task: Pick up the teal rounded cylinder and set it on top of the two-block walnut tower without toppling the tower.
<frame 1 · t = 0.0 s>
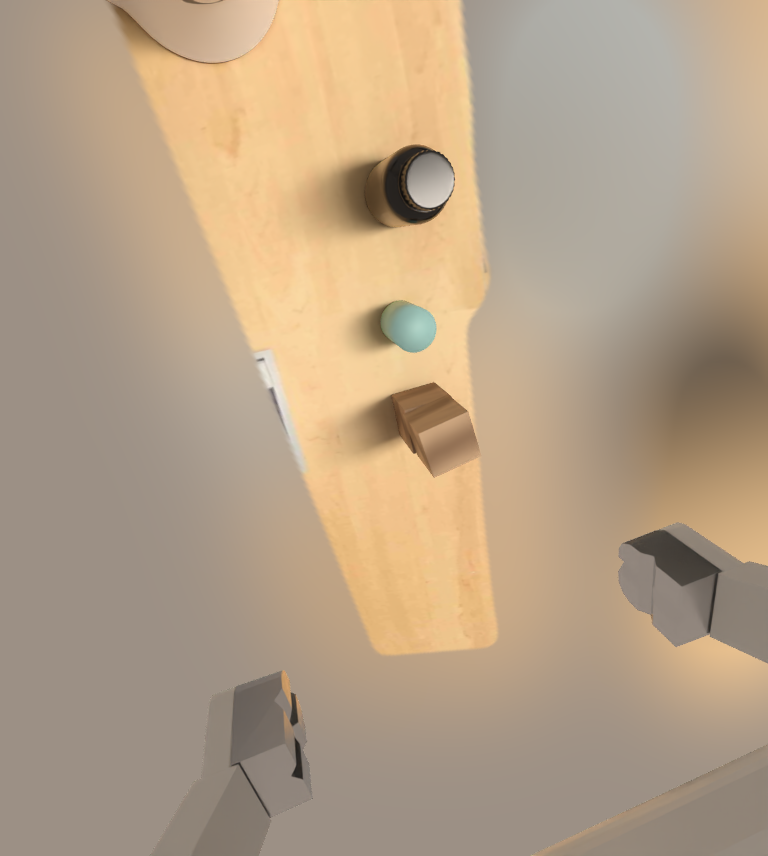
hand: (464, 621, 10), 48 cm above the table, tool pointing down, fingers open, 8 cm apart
tower base: (416, 409, 62), on the table, touching tower top
tower top: (432, 425, 57), point 6 cm above the table, touching tower base
teal rounded cylinder: (400, 321, 57), on the table
supplement bottle: (392, 193, 51), on the table
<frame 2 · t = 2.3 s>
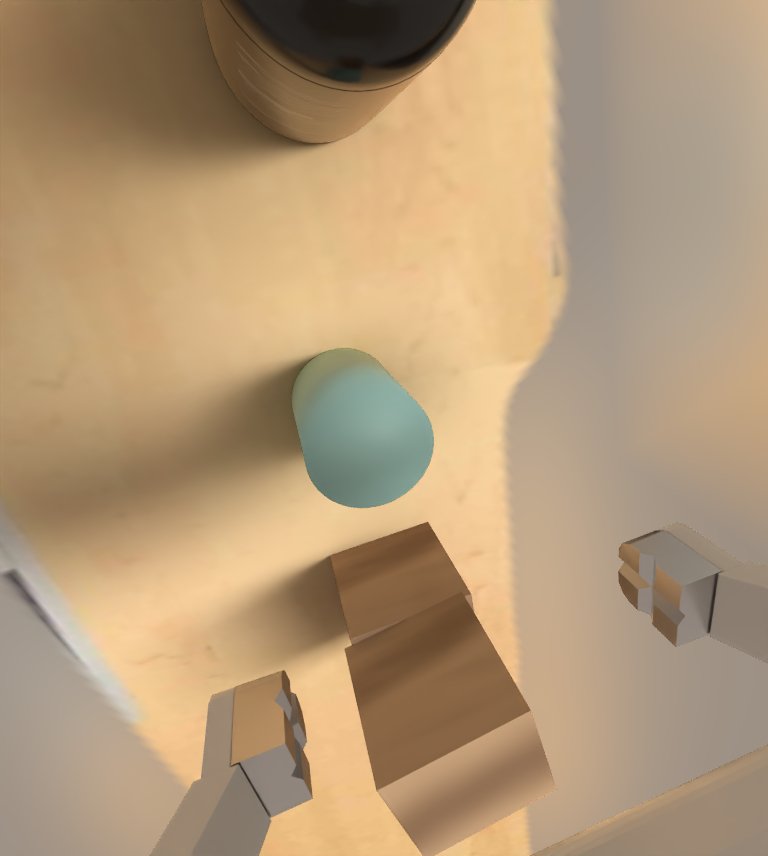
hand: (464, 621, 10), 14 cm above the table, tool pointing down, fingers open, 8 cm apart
tower base: (389, 576, 28), on the table, touching tower top
tower top: (422, 658, 23), point 6 cm above the table, touching tower base
teal rounded cylinder: (342, 398, 23), on the table
supplement bottle: (304, 38, 17), on the table
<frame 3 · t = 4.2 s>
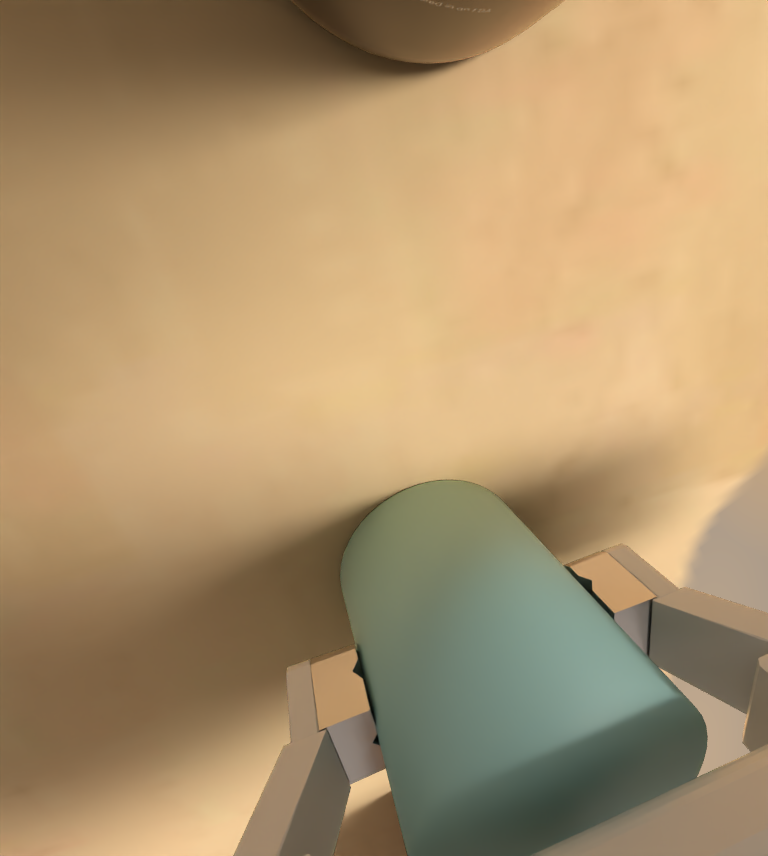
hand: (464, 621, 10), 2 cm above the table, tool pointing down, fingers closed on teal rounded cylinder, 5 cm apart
teal rounded cylinder: (432, 562, 12), on the table, touching gripper
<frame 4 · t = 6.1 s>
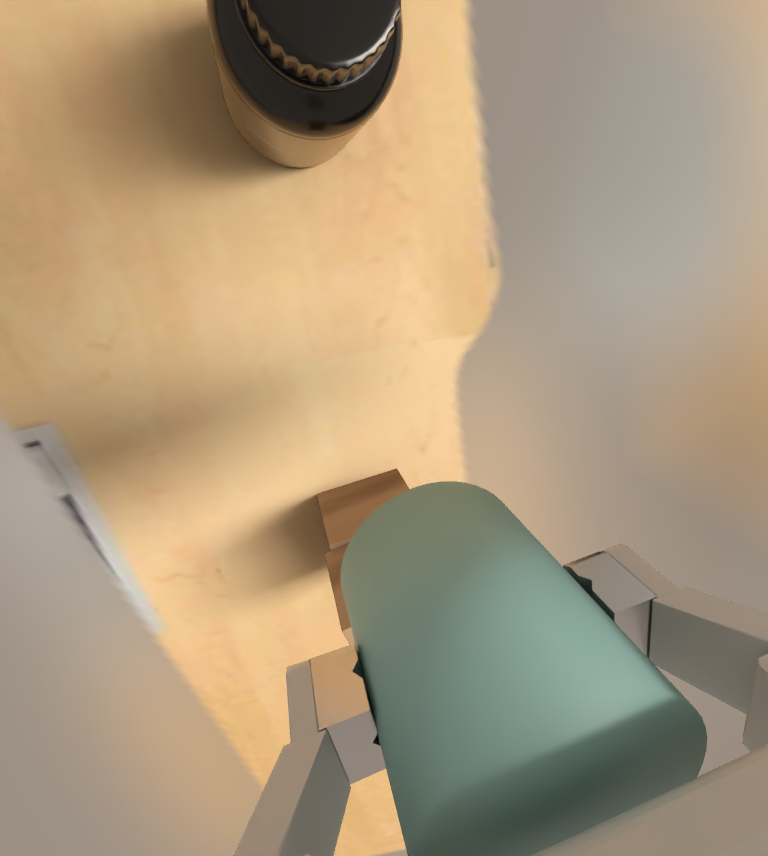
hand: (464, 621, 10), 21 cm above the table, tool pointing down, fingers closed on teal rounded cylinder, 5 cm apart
tower base: (366, 514, 34), on the table, touching tower top
tower top: (387, 566, 29), point 6 cm above the table, touching tower base
teal rounded cylinder: (432, 564, 12), point 19 cm above the table, touching gripper
supplement bottle: (291, 93, 24), on the table
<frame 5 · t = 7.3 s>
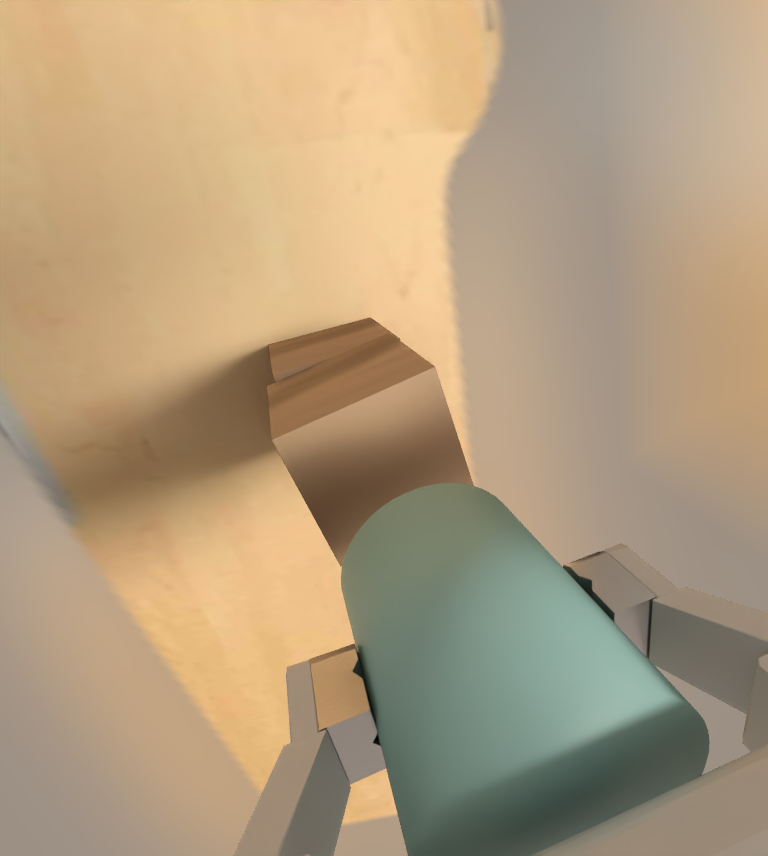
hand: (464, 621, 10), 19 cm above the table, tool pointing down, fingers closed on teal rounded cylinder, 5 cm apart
tower base: (333, 379, 28), on the table, touching tower top
tower top: (353, 415, 22), point 6 cm above the table, touching tower base
teal rounded cylinder: (433, 565, 12), point 17 cm above the table, touching gripper
when the fingers open (15 cm above the table, at t = 8.3 s): teal rounded cylinder drops 1 cm, resting on tower top.
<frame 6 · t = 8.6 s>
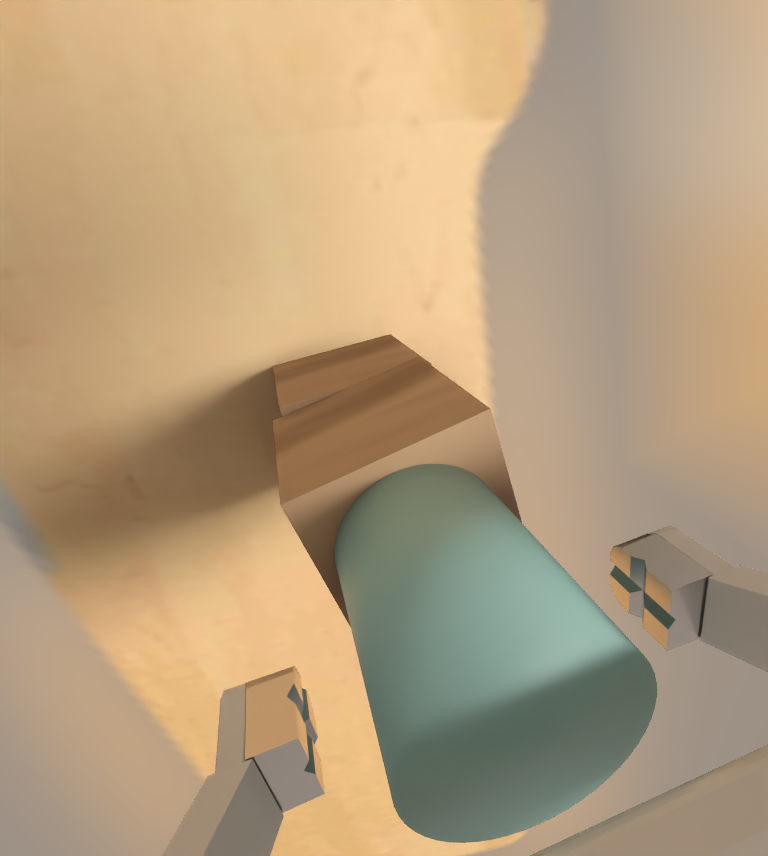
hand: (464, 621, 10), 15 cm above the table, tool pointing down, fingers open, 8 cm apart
tower base: (346, 404, 24), on the table, touching tower top
tower top: (374, 452, 19), point 6 cm above the table, touching teal rounded cylinder, tower base
teal rounded cylinder: (420, 541, 13), point 12 cm above the table, touching tower top
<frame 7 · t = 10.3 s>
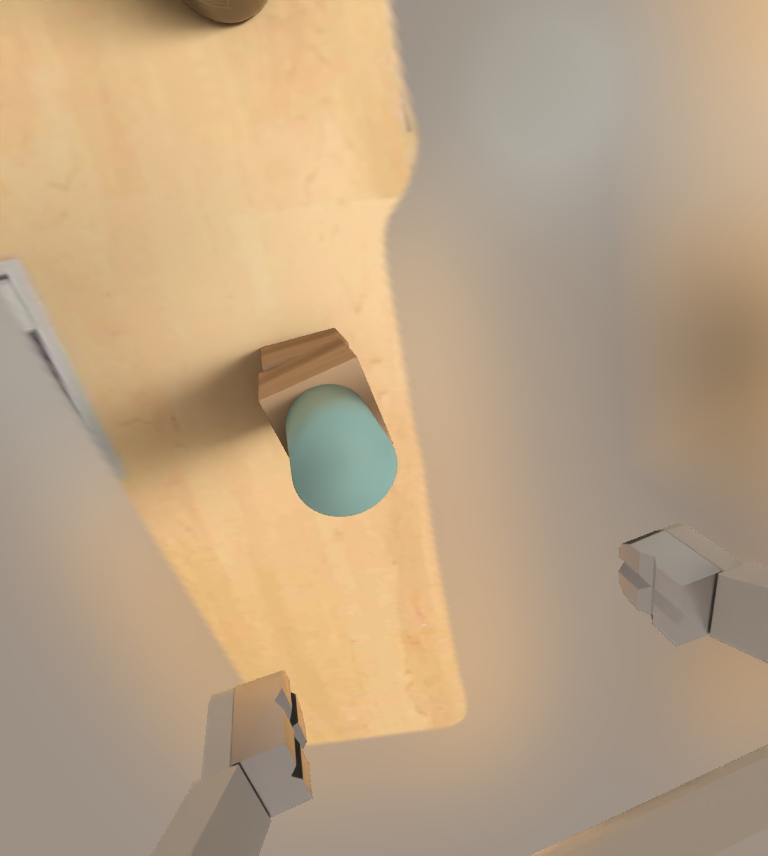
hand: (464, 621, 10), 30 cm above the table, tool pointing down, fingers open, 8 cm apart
tower base: (308, 372, 38), on the table, touching tower top
tower top: (317, 393, 32), point 6 cm above the table, touching teal rounded cylinder, tower base
teal rounded cylinder: (328, 425, 27), point 12 cm above the table, touching tower top
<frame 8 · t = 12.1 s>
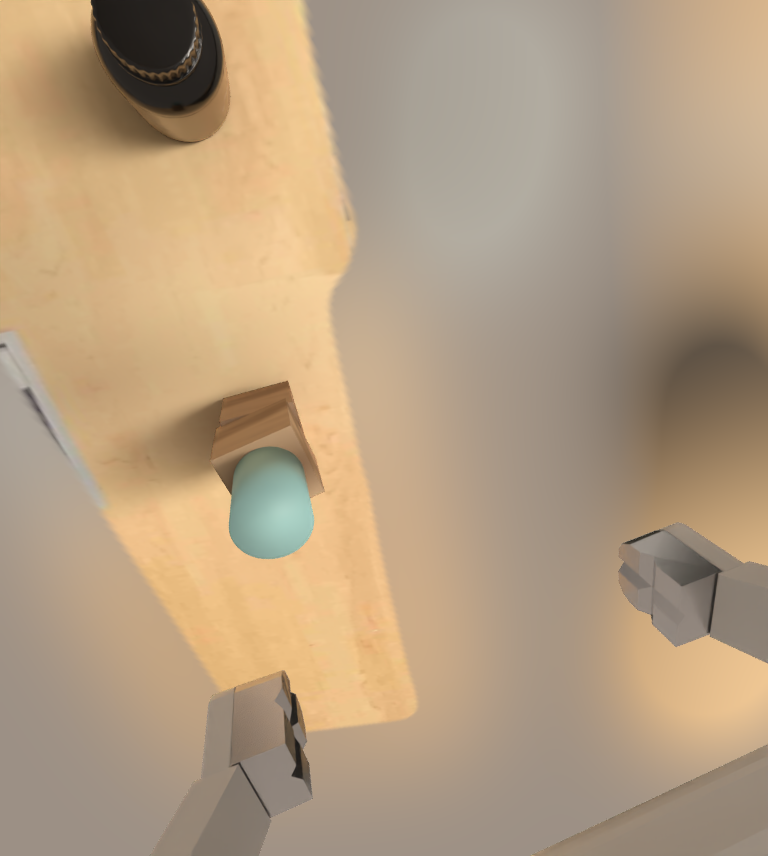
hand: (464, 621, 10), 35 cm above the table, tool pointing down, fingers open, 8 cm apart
tower base: (265, 418, 44), on the table, touching tower top
tower top: (267, 443, 39), point 6 cm above the table, touching teal rounded cylinder, tower base
teal rounded cylinder: (269, 478, 33), point 12 cm above the table, touching tower top
supplement bottle: (181, 88, 33), on the table
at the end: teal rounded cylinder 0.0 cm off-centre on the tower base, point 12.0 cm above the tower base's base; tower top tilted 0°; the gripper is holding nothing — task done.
